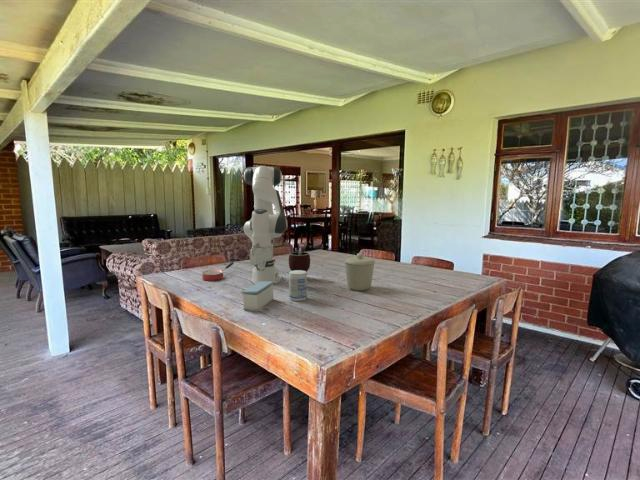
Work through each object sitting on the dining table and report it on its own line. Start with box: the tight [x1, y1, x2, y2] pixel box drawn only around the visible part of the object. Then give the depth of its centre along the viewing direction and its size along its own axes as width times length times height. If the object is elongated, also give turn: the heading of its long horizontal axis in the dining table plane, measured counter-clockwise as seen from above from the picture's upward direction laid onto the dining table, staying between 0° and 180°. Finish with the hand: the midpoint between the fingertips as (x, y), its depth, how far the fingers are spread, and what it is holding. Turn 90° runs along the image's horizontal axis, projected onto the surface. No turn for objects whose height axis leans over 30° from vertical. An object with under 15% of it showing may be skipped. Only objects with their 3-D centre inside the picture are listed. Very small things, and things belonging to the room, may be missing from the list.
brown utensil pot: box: [288, 246, 311, 282], centre depth 233 cm, size 16×14×20 cm
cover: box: [240, 281, 275, 295], centre depth 182 cm, size 20×9×1 cm, turn 165°
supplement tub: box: [288, 270, 308, 302], centre depth 191 cm, size 10×10×15 cm
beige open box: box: [242, 284, 274, 312], centre depth 182 cm, size 20×7×8 cm, turn 164°
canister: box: [343, 252, 376, 292], centre depth 211 cm, size 18×18×21 cm
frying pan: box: [201, 261, 234, 282], centre depth 244 cm, size 32×13×6 cm, turn 169°
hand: (262, 269), depth 180 cm, fingers closed
